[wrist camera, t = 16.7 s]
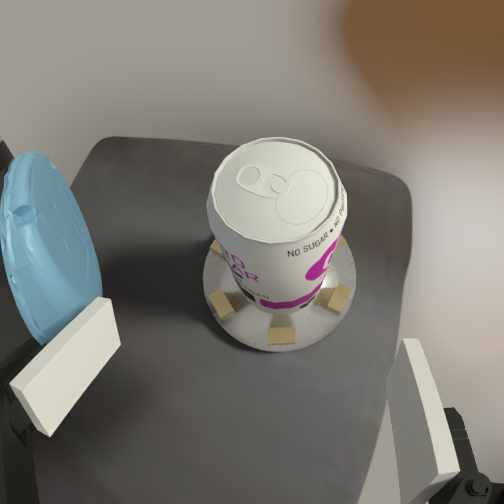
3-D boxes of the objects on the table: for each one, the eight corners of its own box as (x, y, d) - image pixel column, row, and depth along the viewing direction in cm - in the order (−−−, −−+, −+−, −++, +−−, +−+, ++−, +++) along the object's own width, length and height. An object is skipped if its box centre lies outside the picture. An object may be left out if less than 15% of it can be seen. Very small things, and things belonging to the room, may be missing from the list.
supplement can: (335, 254, 31) (368, 156, 17) (300, 330, 28) (317, 282, 14) (261, 224, 33) (244, 116, 19) (223, 294, 30) (172, 219, 17)
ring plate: (253, 381, 28) (250, 382, 25) (182, 257, 34) (174, 246, 31) (380, 298, 30) (389, 289, 27) (299, 190, 36) (299, 175, 33)
